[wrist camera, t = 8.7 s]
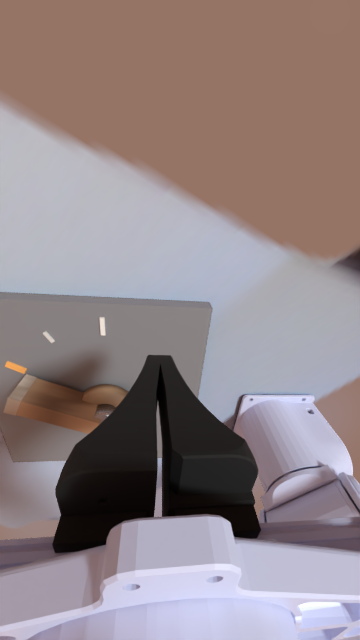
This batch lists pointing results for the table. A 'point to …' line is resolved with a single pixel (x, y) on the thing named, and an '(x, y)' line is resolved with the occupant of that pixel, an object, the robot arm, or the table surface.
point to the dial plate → (89, 354)
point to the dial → (64, 403)
